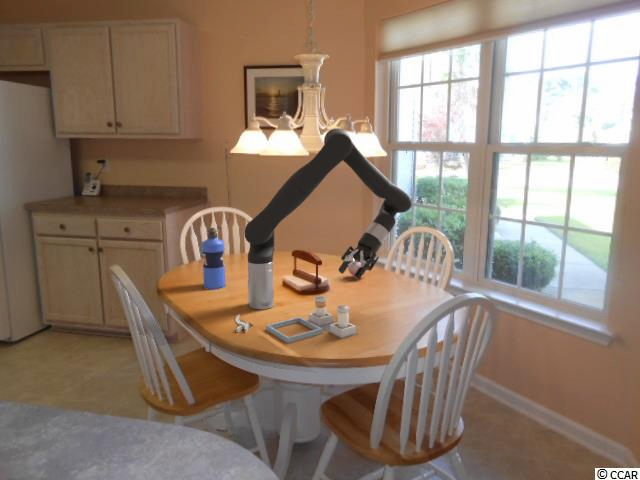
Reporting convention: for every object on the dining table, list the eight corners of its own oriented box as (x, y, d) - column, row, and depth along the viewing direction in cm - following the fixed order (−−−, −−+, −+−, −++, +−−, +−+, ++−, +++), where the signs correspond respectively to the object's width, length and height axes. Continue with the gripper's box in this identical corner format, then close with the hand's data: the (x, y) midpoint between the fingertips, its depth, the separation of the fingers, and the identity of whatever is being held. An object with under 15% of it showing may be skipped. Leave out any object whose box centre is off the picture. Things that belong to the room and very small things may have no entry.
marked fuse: (312, 320, 164) (312, 296, 162) (321, 318, 166) (321, 294, 164) (319, 324, 161) (319, 299, 159) (328, 321, 163) (328, 297, 161)
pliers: (265, 313, 170) (256, 329, 156) (265, 317, 171) (256, 334, 156) (237, 312, 171) (226, 328, 156) (237, 316, 171) (226, 333, 157)
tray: (266, 332, 156) (266, 325, 156) (299, 323, 164) (299, 316, 163) (287, 346, 146) (287, 338, 146) (322, 336, 154) (322, 328, 153)
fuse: (334, 332, 154) (334, 306, 152) (343, 329, 156) (344, 304, 155) (342, 336, 151) (342, 310, 149) (351, 333, 153) (351, 307, 152)
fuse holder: (306, 323, 164) (306, 313, 164) (322, 318, 168) (322, 309, 168) (341, 341, 149) (341, 331, 148) (358, 336, 153) (358, 326, 153)
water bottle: (224, 282, 211) (222, 225, 206) (227, 288, 202) (224, 229, 197) (202, 284, 208) (199, 226, 203) (204, 290, 200) (201, 230, 194)
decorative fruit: (352, 274, 224) (352, 253, 222) (369, 276, 220) (369, 255, 218) (344, 279, 215) (344, 257, 213) (361, 281, 212) (362, 259, 210)
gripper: (354, 228, 175) (329, 264, 171) (381, 235, 164) (355, 273, 159) (365, 241, 179) (341, 276, 175) (392, 248, 168) (367, 285, 163)
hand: (348, 274), depth 167 cm, fingers open, 8 cm apart
